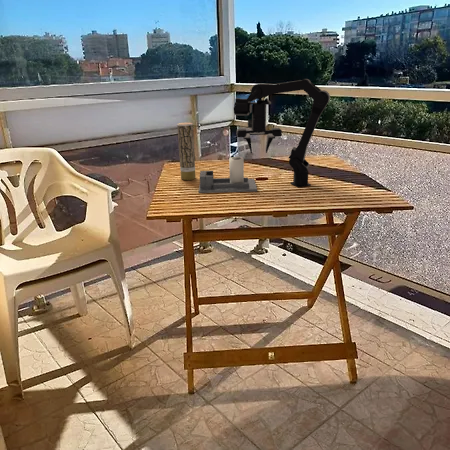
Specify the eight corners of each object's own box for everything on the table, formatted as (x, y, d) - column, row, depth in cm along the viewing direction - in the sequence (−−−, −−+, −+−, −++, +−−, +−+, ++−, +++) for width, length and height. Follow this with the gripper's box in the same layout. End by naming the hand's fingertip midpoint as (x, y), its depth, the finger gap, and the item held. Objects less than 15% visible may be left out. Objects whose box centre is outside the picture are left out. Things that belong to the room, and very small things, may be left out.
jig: (253, 180, 178) (253, 167, 176) (257, 191, 163) (257, 177, 161) (200, 182, 178) (199, 169, 176) (198, 193, 163) (197, 178, 161)
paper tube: (193, 181, 180) (190, 124, 171) (179, 180, 181) (175, 124, 172) (197, 177, 186) (194, 122, 177) (183, 176, 188) (179, 122, 178)
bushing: (243, 181, 173) (243, 155, 169) (244, 185, 168) (244, 159, 163) (229, 182, 173) (229, 156, 169) (229, 186, 167) (229, 159, 163)
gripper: (278, 112, 173) (277, 148, 179) (235, 113, 173) (236, 149, 179) (282, 115, 162) (281, 153, 168) (237, 117, 162) (237, 155, 168)
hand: (258, 152), depth 171 cm, fingers open, 6 cm apart
